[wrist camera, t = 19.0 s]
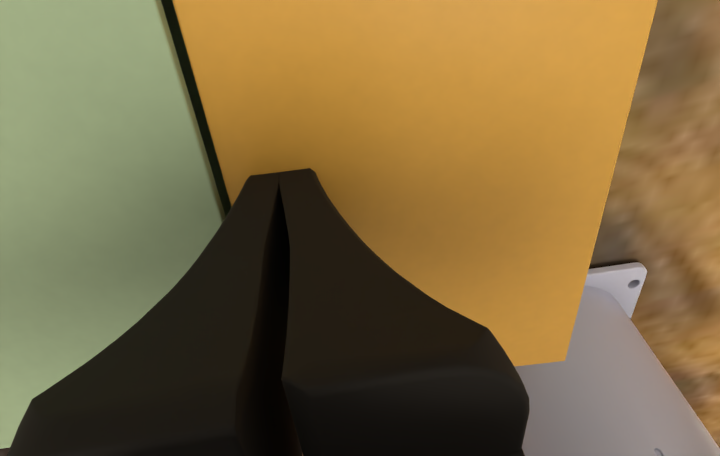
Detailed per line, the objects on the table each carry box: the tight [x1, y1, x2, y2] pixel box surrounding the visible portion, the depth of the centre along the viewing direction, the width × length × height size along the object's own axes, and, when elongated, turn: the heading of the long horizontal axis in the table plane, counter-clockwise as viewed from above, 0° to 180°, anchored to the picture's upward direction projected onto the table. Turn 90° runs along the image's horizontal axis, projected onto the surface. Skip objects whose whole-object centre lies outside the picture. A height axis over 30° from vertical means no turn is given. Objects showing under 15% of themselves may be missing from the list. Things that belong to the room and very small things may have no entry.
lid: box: [172, 0, 658, 367], centre depth 12 cm, size 8×13×1 cm, turn 5°
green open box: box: [0, 0, 232, 449], centre depth 14 cm, size 17×13×7 cm
